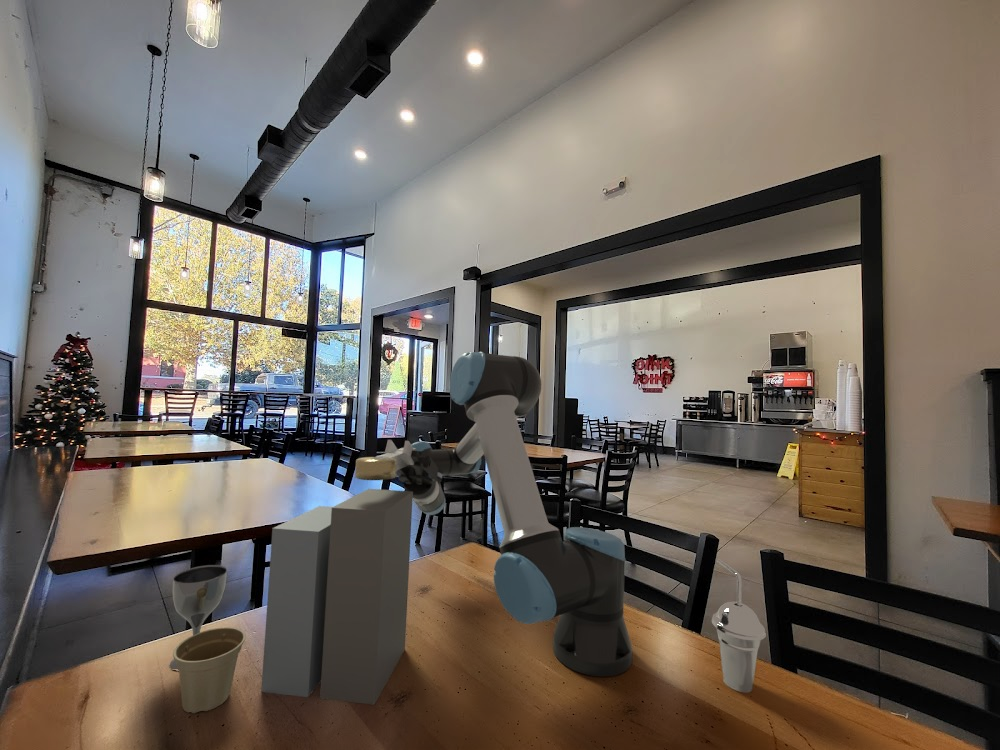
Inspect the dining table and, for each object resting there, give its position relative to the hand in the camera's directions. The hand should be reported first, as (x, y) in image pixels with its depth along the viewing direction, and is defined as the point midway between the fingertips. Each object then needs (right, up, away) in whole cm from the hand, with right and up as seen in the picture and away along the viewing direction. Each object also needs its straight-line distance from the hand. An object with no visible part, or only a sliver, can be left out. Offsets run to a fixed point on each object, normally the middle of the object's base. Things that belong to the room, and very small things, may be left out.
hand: (397, 446), depth 87 cm
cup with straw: (+63, -41, -11) cm, 76 cm away
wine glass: (-34, -37, -11) cm, 51 cm away
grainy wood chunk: (0, -4, -3) cm, 5 cm away
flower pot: (-25, -37, -21) cm, 49 cm away
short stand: (-13, -37, -11) cm, 41 cm away
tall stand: (-2, -38, -12) cm, 40 cm away
